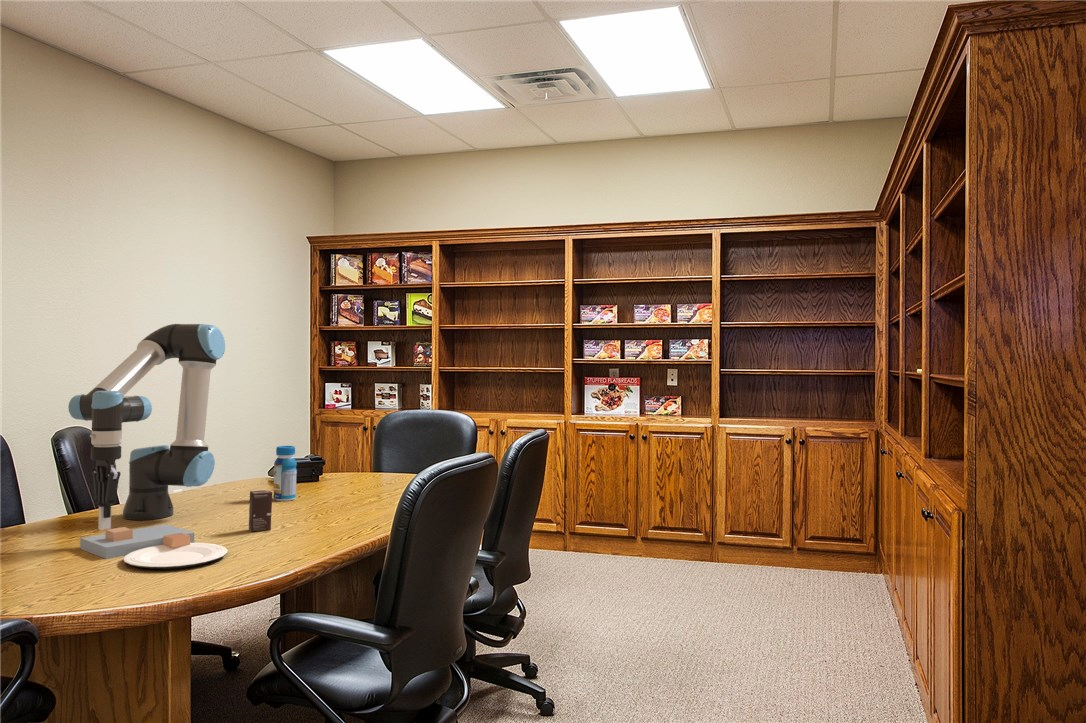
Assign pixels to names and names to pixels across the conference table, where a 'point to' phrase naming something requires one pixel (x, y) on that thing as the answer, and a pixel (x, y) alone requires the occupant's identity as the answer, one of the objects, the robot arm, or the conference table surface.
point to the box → (260, 510)
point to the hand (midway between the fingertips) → (104, 528)
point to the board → (130, 541)
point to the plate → (175, 556)
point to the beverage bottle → (285, 474)
